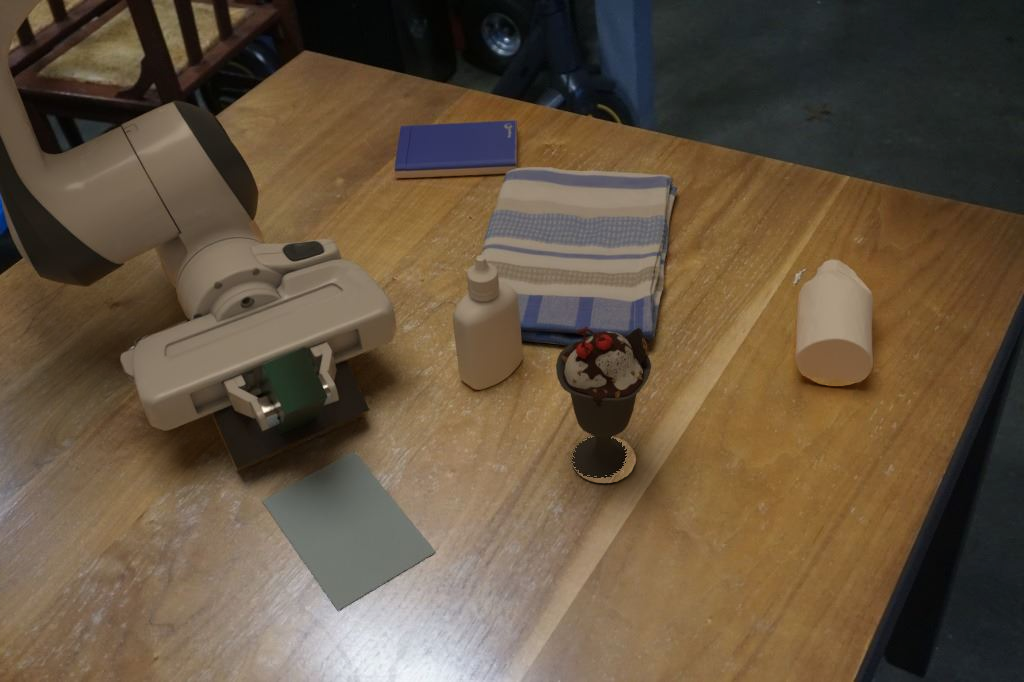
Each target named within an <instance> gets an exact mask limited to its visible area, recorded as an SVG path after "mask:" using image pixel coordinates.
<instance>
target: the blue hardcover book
mask: <svg viewBox="0 0 1024 682" xmlns="http://www.w3.org/2000/svg"><path fill="white" fill-rule="evenodd" d="M516 168H518V120H516V119H515V120H493V121H490V120H489V121H476V122H475V121H473V122H453V123H452V122H450V123H432V124H430V123H429V124H414V125H413V124H412V125H401V126H400V130H399V136H398V142H397V149H396V155H395V162H394V174H395V178H396V179H405V178H406V179H410V178H411V179H412V178H414V179H415V178H434V177H435V178H436V177H437V178H438V177H455V176H456V177H457V176H458V177H459V176H479V175H503V174H505V175H506V173H507V172H509V171H511V170H513V169H516Z"/></svg>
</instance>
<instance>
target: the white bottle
mask: <svg viewBox="0 0 1024 682" xmlns="http://www.w3.org/2000/svg"><path fill="white" fill-rule="evenodd" d="M796 311H797V313H796V322H795V323H796V324H795V355H794V363H795V366H796V368H797V370H798V371H799V373H800V374H801V376H803V377H804V376H810V377H817V378H819V377H820V378H826V379H838V380H844V381H851V382H859V383H861V382H863V381H864V380H865V379H866V378H868V376H869V375H871V372H872V369H873V368H874V367H873V366H874V356H873V353H874V352H873V313H874V296H873V293H872V291H871V289H870V288H868V286H867V285H866V284H865V282H863V281H862V279H861V278H860V277H859V276H858V275H857V273H856V271H855V270H853V269H852V268H851V267H849V266H848V265H847V264H845V263H844V262H842V261H841V260H839V259H835V258H834V259H829V260H826V261H824V262H823V263H822V264H821V265H820V266H819V267H818V268H817V269H816V273H815V276H813V277H812V278H811V279H809V280H808V281H806V282H805V283H804V284H803V285H802V287H801V288H800V291H799V293H798V299H797V309H796Z"/></svg>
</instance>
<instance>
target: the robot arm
mask: <svg viewBox="0 0 1024 682" xmlns="http://www.w3.org/2000/svg"><path fill="white" fill-rule="evenodd" d="M41 2H42V0H0V200H1V204H2V208H3V214H4V216H5V221H6V224H7V227H8V231H9V233H10V236H11V239H12V240H13V243H14V245H15V247H16V249H17V251H18V252H19V254H20V255H21V257H22V258H23V260H24V261H25V262H26V264H27V265H28V266H29V267H30V268H31V269H32V270H33V271H34V272H36V274H37V275H38V276H39V277H40V278H42V279H45V280H49V281H51V282H56V283H60V284H64V285H71V286H77V287H78V286H79V287H90V286H92V285H94V284H95V283H97V282H99V281H101V280H102V279H104V278H105V277H107V276H108V275H109V274H112V273H113V272H115V271H116V270H118V269H120V268H121V267H123V266H125V263H127V262H129V261H131V260H133V259H135V258H137V257H139V256H141V255H143V254H146V253H147V252H149V251H152V250H155V253H156V256H157V258H158V260H159V263H160V265H161V268H162V270H163V272H164V274H165V276H166V278H167V280H168V281H169V282H170V283H171V285H172V286H173V287H175V292H176V296H177V300H178V303H179V305H180V307H181V309H182V311H183V313H184V315H185V317H186V319H185V320H184V321H181V322H178V323H175V324H172V325H170V326H168V327H165V328H163V329H161V330H159V331H156V333H152V334H145V335H143V336H140V337H138V338H136V339H135V340H134V341H133V345H130V347H128V348H127V349H126V350H125V351H124V352H122V353H121V354H120V359H119V361H120V366H121V369H122V370H123V373H124V376H125V377H126V378H127V379H128V380H130V381H132V382H133V383H134V384H135V389H136V391H137V394H138V398H139V400H140V403H141V406H142V408H143V410H144V414H145V415H146V418H147V420H148V422H149V424H150V426H151V427H153V428H156V429H157V430H161V431H163V432H164V431H165V432H166V431H171V430H173V429H176V428H178V427H181V426H183V425H186V424H188V423H191V422H193V421H196V420H198V419H201V418H204V417H206V416H208V415H211V413H214V412H216V411H219V410H221V409H224V408H226V407H229V406H231V405H232V406H233V408H234V410H235V411H237V412H239V413H241V414H244V415H246V416H249V417H251V418H253V419H254V418H256V420H257V422H258V424H259V426H260V428H261V430H262V431H264V430H267V429H269V428H271V427H274V426H276V425H278V424H281V421H280V419H279V415H278V412H277V409H276V407H275V405H274V404H273V403H272V400H271V398H270V397H269V395H267V396H264V397H261V398H258V397H256V396H257V395H259V394H262V392H261V389H260V387H259V386H260V378H261V371H262V364H263V363H265V362H267V361H270V360H272V359H275V358H277V357H279V356H282V355H284V354H287V353H289V352H292V351H294V350H297V349H299V348H301V347H305V348H306V350H307V353H308V355H309V357H310V359H311V361H312V364H313V366H314V368H315V370H316V372H318V374H319V375H318V377H319V379H320V381H321V383H322V385H323V387H324V390H325V392H326V394H327V399H326V401H325V404H324V406H325V405H328V404H330V403H333V402H335V401H338V400H339V396H338V392H337V389H336V386H335V383H334V380H335V375H336V371H337V369H336V365H335V364H337V363H340V362H342V361H345V360H347V361H348V360H350V359H352V358H354V357H358V356H360V355H362V354H364V353H367V352H370V351H372V350H375V349H378V348H380V347H382V346H386V345H388V344H390V343H392V342H393V341H394V338H395V337H396V334H397V331H398V325H397V318H396V313H395V309H394V305H393V303H392V300H391V299H390V297H389V296H388V294H387V293H386V292H385V290H384V289H383V288H382V287H381V286H380V284H379V283H378V282H377V281H376V280H375V278H373V276H372V275H370V274H369V272H368V271H366V270H365V269H364V267H362V266H361V265H359V264H358V263H357V262H354V261H352V260H348V259H344V258H343V257H342V254H341V251H340V249H339V246H338V244H337V242H335V241H334V240H333V239H331V238H319V239H312V240H311V239H310V240H304V241H296V242H282V243H267V242H265V237H264V235H263V232H262V230H261V228H260V227H259V225H258V223H257V222H256V220H255V219H256V216H257V211H258V205H259V187H258V185H257V183H256V179H255V177H254V175H253V173H252V171H251V169H250V167H249V165H248V163H247V162H246V160H245V158H244V157H243V155H242V153H241V152H240V151H239V150H238V148H237V147H236V145H235V144H234V142H232V140H231V138H230V136H229V134H228V133H227V131H226V130H225V128H224V127H223V125H222V123H221V122H220V120H219V119H218V118H217V116H215V114H213V113H212V112H210V111H208V110H205V109H203V108H201V107H199V106H198V105H197V106H196V105H195V104H192V103H188V102H186V101H181V100H173V101H171V102H168V103H165V104H163V105H161V106H158V107H157V108H154V109H152V110H149V111H147V112H145V113H143V114H141V115H138V116H137V117H134V118H132V119H130V120H129V121H126V122H124V123H121V125H119V126H118V127H115V128H113V129H111V130H109V131H107V132H105V133H103V134H100V135H99V136H96V137H94V138H92V139H90V140H88V141H86V142H84V143H81V144H80V145H77V146H75V147H73V148H71V149H69V150H66V151H64V152H61V153H55V154H54V153H47V152H45V151H44V150H43V149H42V148H41V145H40V143H39V141H38V138H37V136H36V133H35V131H34V127H33V125H32V122H31V120H30V117H29V115H28V113H27V110H26V107H25V105H24V102H23V100H22V97H21V95H20V92H19V90H18V87H17V84H16V82H15V80H14V78H13V75H12V72H11V69H10V64H9V56H10V55H9V54H10V49H11V46H12V43H13V40H14V38H15V36H16V34H17V32H18V30H20V28H21V26H22V24H23V23H24V22H25V20H26V19H27V17H29V15H30V14H31V13H32V11H34V9H35V8H36V7H37V6H38V5H39V3H41Z"/></svg>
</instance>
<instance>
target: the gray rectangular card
mask: <svg viewBox="0 0 1024 682" xmlns="http://www.w3.org/2000/svg"><path fill="white" fill-rule="evenodd" d="M261 503H262V504H263V505H264V507H265V508H266V510H267V511H268V513H269V514H270V515H271V518H273V520H274V521H275V523H276V524H277V526H278V527H279V528H280V531H282V533H283V534H284V536H285V537H286V539H287V540H288V541H289V543H290V544H291V546H292V547H293V549H294V550H295V551H296V553H297V555H298V556H299V557H300V559H301V560H302V561H303V563H304V565H305V566H306V567H307V569H308V571H309V572H310V573H311V575H312V576H313V577H314V579H315V580H316V582H317V583H318V585H319V587H321V589H322V591H323V592H324V593H325V595H326V597H327V598H328V599H329V601H330V602H331V603H332V605H333V607H334V608H335V609H336V611H337V612H339V611H340V610H342V609H344V608H345V607H347V606H349V605H351V604H353V603H354V602H356V601H357V600H359V599H361V598H362V597H364V596H366V595H367V594H369V593H371V592H373V591H374V590H375V589H377V588H379V587H380V586H382V585H384V584H386V583H387V582H390V581H391V580H393V579H394V578H396V577H397V576H400V574H402V573H404V572H406V571H407V570H409V569H411V568H412V567H414V566H415V565H417V564H419V563H421V562H422V561H424V560H426V559H427V558H429V557H431V556H433V555H434V554H436V550H435V549H434V548H433V546H432V545H431V544H430V543H429V541H428V540H427V539H426V538H425V537H424V535H423V534H422V532H420V530H419V529H418V528H417V526H415V524H414V523H413V522H412V521H411V520H410V518H409V517H408V515H406V513H405V512H404V511H403V510H402V508H401V507H400V505H399V504H397V502H396V501H395V500H394V498H393V497H392V496H391V495H390V493H389V492H388V491H387V490H386V489H385V487H384V486H383V485H382V484H381V482H380V481H379V480H378V478H377V477H376V476H375V475H374V474H373V472H372V471H371V470H370V469H369V468H368V466H367V465H366V464H365V463H364V462H363V460H362V459H361V458H360V457H359V455H358V454H357V453H356V452H355V450H354V451H352V452H349V453H348V454H346V455H344V456H342V457H341V458H339V459H336V460H335V461H333V462H331V463H329V464H327V465H325V466H324V467H322V468H320V469H318V470H316V471H314V472H312V473H311V474H309V475H307V476H305V477H304V478H301V479H300V480H298V481H296V482H294V483H292V484H290V485H289V486H286V487H285V488H283V489H281V490H278V491H277V492H275V493H274V494H271V495H270V496H268V497H266V498H264V499H262V500H261Z"/></svg>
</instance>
